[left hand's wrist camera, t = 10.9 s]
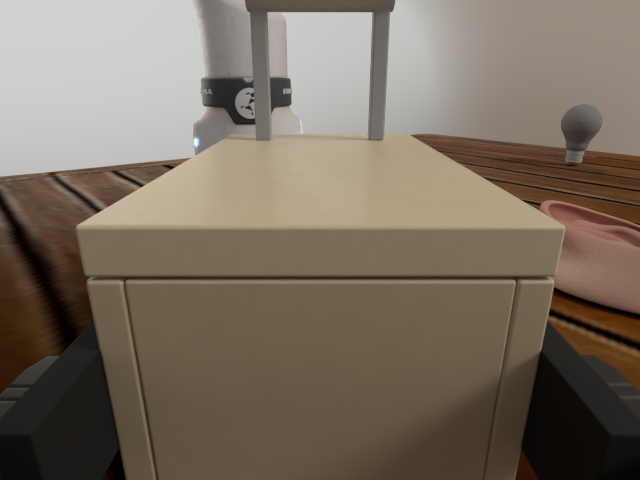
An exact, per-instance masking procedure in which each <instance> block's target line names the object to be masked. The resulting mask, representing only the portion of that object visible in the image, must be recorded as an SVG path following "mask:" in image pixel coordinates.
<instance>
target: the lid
mask: <svg viewBox="0 0 640 480" xmlns="http://www.w3.org/2000/svg"><path fill="white" fill-rule="evenodd" d="M245 5H246V9H247V11H248V12H250V24H251V45H252V65H253V86H254V106H255V126H256V134H232V135H230V136H228V137H226V138H225V139H223V140H221V141H220V142H218V143H216V144H214V145H213V146H211V147H209V148H208V149H206V150H204V151H203V152H201V153H199V154H197V155H196V156H194V157H192V158H191V159H189V160H187V161H186V162H184V163H182V164H181V165H179V166H177V167H175V168H174V169H172V170H170V171H169V172H167V173H165V174H164V175H162V176H160V177H158V178H157V179H155V180H153V181H152V182H150V183H148V184H147V185H145V186H143V187H142V188H140V189H138V190H136V191H135V192H133V193H131V194H130V195H128V196H126V197H125V198H123V199H121V200H119V201H118V202H116V203H114V204H113V205H111V206H109V207H108V208H106V209H104V210H102V211H101V212H99V213H97V214H96V215H94V216H92V217H91V218H89V219H87V220H86V221H84V222H82V223H80V224H79V225H77V226H76V235H77V240H78V245H79V250H80V255H81V260H82V265H83V270H84V274H85V276H87V277H553V276H555V275H556V274H557V269H558V264H559V259H560V254H561V250H562V245H563V240H564V235H565V226H564V225H562V224H561V223H559V222H557V221H556V220H554V219H552V218H550V217H549V216H547V215H545V214H544V213H542V212H540V211H538V210H537V209H535V208H533V207H532V206H530V205H528V204H527V203H525V202H523V201H521V200H520V199H518V198H516V197H515V196H513V195H511V194H509V193H508V192H506V191H504V190H503V189H501V188H499V187H497V186H496V185H494V184H492V183H491V182H489V181H487V180H485V179H484V178H482V177H480V176H479V175H477V174H475V173H474V172H472V171H470V170H468V169H467V168H465V167H463V166H462V165H460V164H458V163H456V162H455V161H453V160H451V159H450V158H448V157H446V156H444V155H443V154H441V153H439V152H438V151H436V150H434V149H432V148H431V147H429V146H427V145H426V144H424V143H422V142H421V141H419V140H417V139H415V138H414V137H412V136H410V135H408V134H384V124H385V104H386V83H387V63H388V42H389V22H390V12H392V11H393V9H394V5H395V0H245ZM267 12H373V15H372V43H371V70H370V97H369V124H368V134H272V122H271V95H270V68H269V41H268V13H267Z"/></svg>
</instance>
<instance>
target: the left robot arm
mask: <svg viewBox="0 0 640 480" xmlns="http://www.w3.org/2000/svg"><path fill="white" fill-rule="evenodd" d="M521 448H522V450H523V452H524V454H525V455H526V457H527V459H528V461H529V463H530V465H531V466H532V468H533V470H534V472H535V474H536V475H537V477H538V479H539V480H640V391H639V390H637V389H636V388H635V387H632V386H631V383H630V382H629V381H628V380H627V379H626V378H625V377H624V376H623V375H622V374H621V373H620V372H619V371H618V370H617V369H616V368H614V367H613V366H611V365H609V364H608V363H606V362H604V361H603V360H601V359H599V358H598V357H596V356H594V355H580V354H579V353H578V352H577V351H576V350H575V349H574V348H573V347H572V346H571V345H570V344H569V343H568V342H567V341H566V340H565V339H564V338H563V337H562V335H561V334H560V333H559V332H558V331H557V330H556V329H555V328H554V327H553V326H552V325H551V324H550V323H549V322H548V321H547V324H546V329H545V334H544V339H543V344H542V349H541V353H540V358H539V363H538V368H537V373H536V378H535V383H534V388H533V393H532V398H531V403H530V407H529V412H528V417H527V422H526V427H525V432H524V437H523V442H522V447H521ZM118 449H119V443H118V438H117V433H116V428H115V423H114V418H113V413H112V408H111V403H110V398H109V393H108V388H107V384H106V379H105V374H104V369H103V364H102V359H101V354H100V349H99V344H98V339H97V334H96V329H95V324H94V320H93V321H92V322H91V323H90V324H89V325H88V326H87V328H86V329H85V330H84V331H83V332H82V333H81V334H80V335H79V336H78V337H77V338H76V339H75V340H74V341H73V342H72V343H71V344H70V345H69V347H68V348H67V349H66V350H65V351H64V352H63V353H62V354H61V355H60V356H47V357H46V358H44V359H42V360H41V361H39V362H37V363H36V364H34V365H32V366H31V367H29V368H27V369H26V370H24V371H23V372H22V373H21V374H20V375H19V376H18V377H17V378H16V379H15V380H14V381H13V382H12V383H11V384H10V387H9V388H6V389H5V390H4V391H3V392H2V393H1V394H0V480H102V478H103V476H104V475H105V473H106V471H107V469H108V467H109V465H110V464H111V462H112V460H113V458H114V456H115V454H116V453H117V451H118Z"/></svg>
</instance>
